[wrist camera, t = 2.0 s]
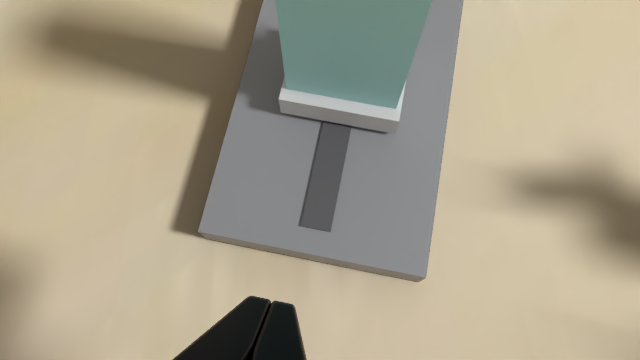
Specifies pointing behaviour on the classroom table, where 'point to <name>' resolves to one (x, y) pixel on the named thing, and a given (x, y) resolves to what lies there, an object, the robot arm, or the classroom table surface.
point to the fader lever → (348, 58)
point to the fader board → (335, 164)
